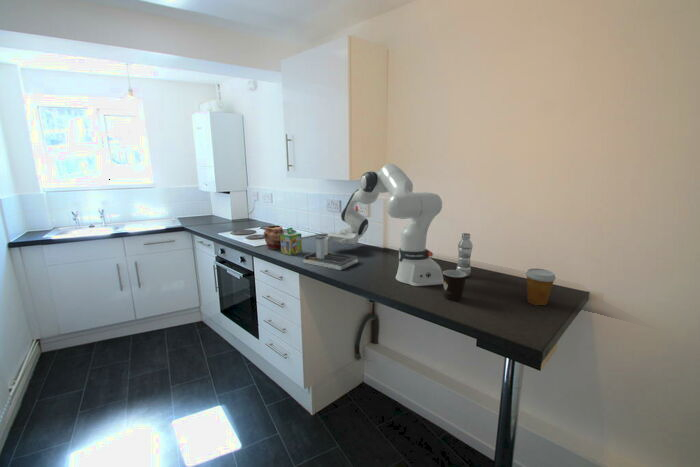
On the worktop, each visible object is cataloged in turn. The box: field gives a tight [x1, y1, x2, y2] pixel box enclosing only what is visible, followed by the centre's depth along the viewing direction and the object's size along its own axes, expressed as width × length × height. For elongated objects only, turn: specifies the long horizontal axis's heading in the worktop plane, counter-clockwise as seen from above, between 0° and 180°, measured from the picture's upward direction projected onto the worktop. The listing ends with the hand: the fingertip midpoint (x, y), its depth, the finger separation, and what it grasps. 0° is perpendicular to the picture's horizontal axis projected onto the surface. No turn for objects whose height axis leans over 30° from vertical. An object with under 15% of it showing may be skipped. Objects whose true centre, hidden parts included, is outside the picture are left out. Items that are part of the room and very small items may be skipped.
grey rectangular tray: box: [302, 251, 359, 271], centre depth 168 cm, size 24×16×4 cm, turn 58°
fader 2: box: [318, 232, 329, 255], centre depth 174 cm, size 3×3×12 cm
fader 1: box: [314, 235, 325, 259], centre depth 166 cm, size 3×3×12 cm
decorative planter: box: [263, 224, 285, 250], centre depth 199 cm, size 20×12×14 cm, turn 43°
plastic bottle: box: [455, 232, 474, 278], centre depth 146 cm, size 6×7×20 cm
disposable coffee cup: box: [525, 268, 557, 306], centre depth 118 cm, size 10×10×12 cm
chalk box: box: [280, 227, 303, 256], centre depth 186 cm, size 9×9×15 cm
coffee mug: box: [442, 269, 467, 302], centre depth 123 cm, size 12×9×10 cm
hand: (333, 240), depth 182 cm, fingers open, 8 cm apart
